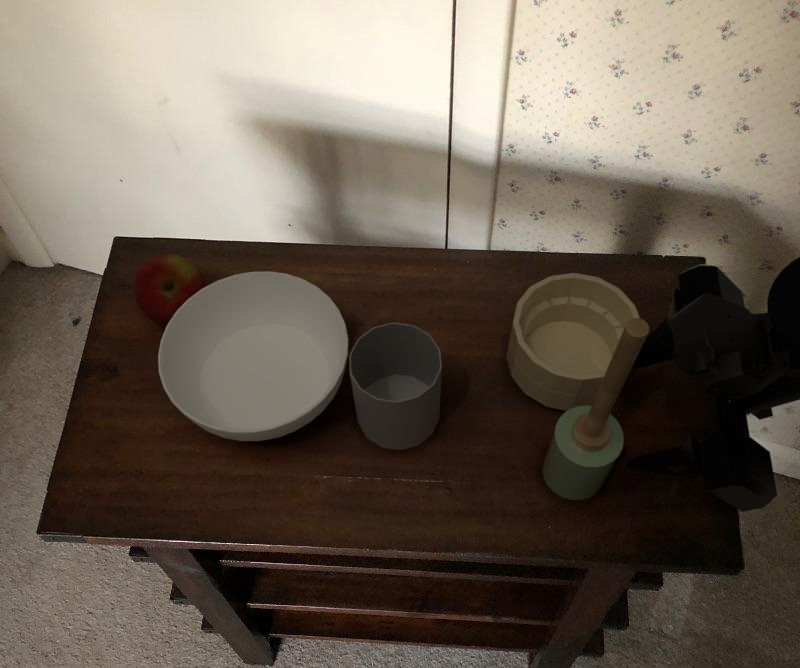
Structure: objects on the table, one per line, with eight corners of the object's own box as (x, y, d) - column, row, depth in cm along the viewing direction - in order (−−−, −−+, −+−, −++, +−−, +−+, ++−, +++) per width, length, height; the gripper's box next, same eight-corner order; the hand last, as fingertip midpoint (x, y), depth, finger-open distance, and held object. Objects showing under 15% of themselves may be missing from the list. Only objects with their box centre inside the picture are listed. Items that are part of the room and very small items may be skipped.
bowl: (341, 472, 75) (334, 440, 68) (159, 457, 76) (135, 424, 69) (364, 317, 83) (359, 276, 77) (200, 306, 84) (182, 265, 78)
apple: (138, 341, 82) (112, 297, 75) (158, 281, 86) (135, 233, 79) (207, 347, 82) (187, 303, 75) (224, 286, 86) (206, 239, 79)
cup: (442, 447, 76) (444, 399, 67) (358, 452, 76) (350, 405, 67) (435, 374, 80) (437, 319, 71) (356, 378, 80) (348, 324, 71)
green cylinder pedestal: (579, 433, 76) (595, 394, 69) (617, 480, 74) (638, 445, 66) (529, 461, 75) (541, 425, 68) (567, 511, 72) (582, 479, 65)
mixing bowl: (577, 296, 84) (589, 255, 78) (649, 378, 79) (668, 341, 73) (484, 345, 81) (489, 307, 75) (552, 433, 76) (564, 400, 70)
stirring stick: (592, 413, 68) (641, 300, 53) (615, 441, 67) (671, 333, 52) (563, 430, 67) (604, 320, 52) (585, 458, 66) (634, 354, 51)
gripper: (752, 185, 52) (563, 277, 63) (799, 429, 44) (570, 489, 54) (817, 263, 59) (636, 335, 69) (870, 489, 50) (653, 532, 60)
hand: (624, 413), depth 63 cm, fingers open, 9 cm apart
